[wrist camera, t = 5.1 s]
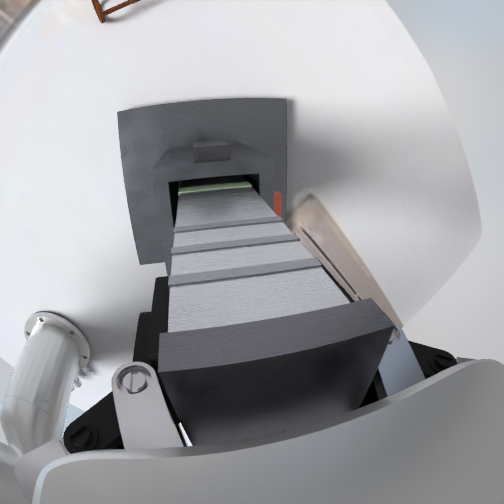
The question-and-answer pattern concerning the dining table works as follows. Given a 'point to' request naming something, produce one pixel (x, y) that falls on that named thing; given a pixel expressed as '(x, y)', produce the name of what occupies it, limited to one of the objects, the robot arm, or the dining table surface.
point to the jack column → (257, 322)
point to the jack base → (197, 159)
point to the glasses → (102, 14)
